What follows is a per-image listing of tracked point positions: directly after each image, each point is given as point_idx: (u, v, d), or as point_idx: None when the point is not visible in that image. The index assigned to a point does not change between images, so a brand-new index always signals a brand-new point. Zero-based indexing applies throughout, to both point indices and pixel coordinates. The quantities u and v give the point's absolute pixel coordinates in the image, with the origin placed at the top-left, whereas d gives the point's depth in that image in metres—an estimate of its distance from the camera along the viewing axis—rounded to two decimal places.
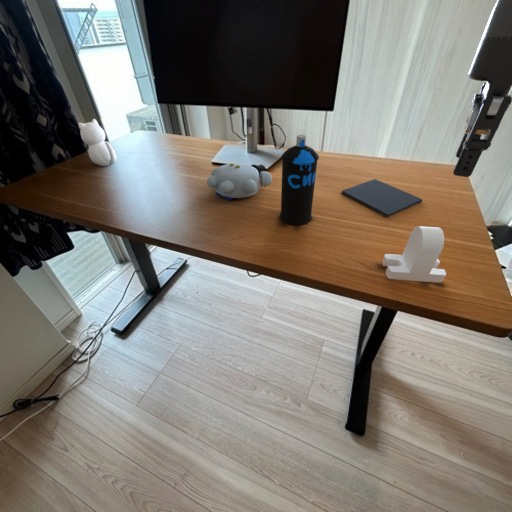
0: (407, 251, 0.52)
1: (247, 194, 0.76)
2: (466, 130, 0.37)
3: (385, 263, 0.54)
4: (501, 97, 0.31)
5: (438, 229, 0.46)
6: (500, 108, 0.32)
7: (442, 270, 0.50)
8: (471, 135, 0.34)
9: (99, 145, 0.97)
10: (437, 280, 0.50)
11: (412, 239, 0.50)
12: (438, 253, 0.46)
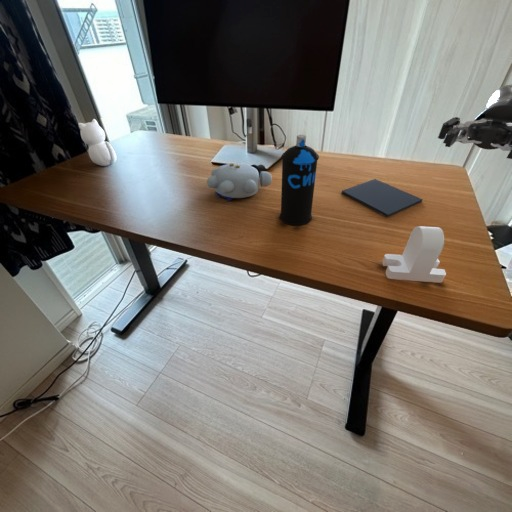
0: (407, 251, 0.52)
1: (247, 194, 0.76)
2: None
3: (385, 263, 0.54)
4: None
5: (438, 229, 0.46)
6: None
7: (442, 270, 0.50)
8: None
9: (99, 145, 0.97)
10: (437, 280, 0.50)
11: (412, 239, 0.50)
12: (438, 253, 0.46)
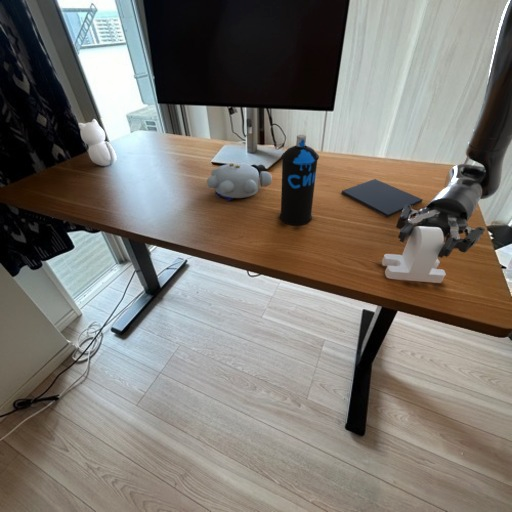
0: (406, 251, 0.52)
1: (247, 194, 0.76)
2: None
3: (385, 263, 0.54)
4: None
5: (437, 229, 0.46)
6: None
7: (442, 270, 0.50)
8: None
9: (99, 145, 0.97)
10: (437, 280, 0.50)
11: (411, 239, 0.50)
12: (437, 253, 0.46)
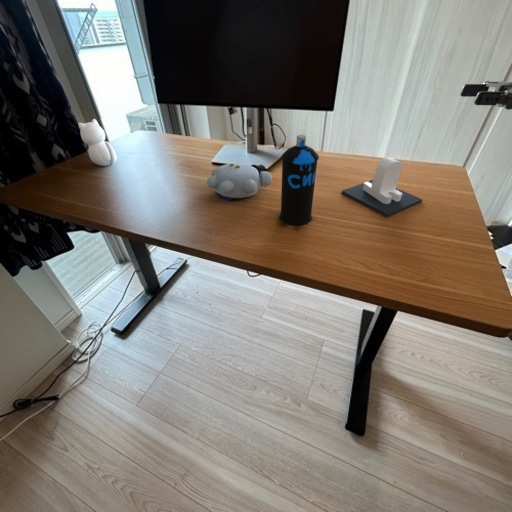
0: None
1: (247, 194, 0.76)
2: None
3: None
4: None
5: (395, 161, 0.68)
6: None
7: (390, 196, 0.71)
8: None
9: (99, 145, 0.97)
10: (382, 200, 0.72)
11: None
12: (383, 174, 0.69)
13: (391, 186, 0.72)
